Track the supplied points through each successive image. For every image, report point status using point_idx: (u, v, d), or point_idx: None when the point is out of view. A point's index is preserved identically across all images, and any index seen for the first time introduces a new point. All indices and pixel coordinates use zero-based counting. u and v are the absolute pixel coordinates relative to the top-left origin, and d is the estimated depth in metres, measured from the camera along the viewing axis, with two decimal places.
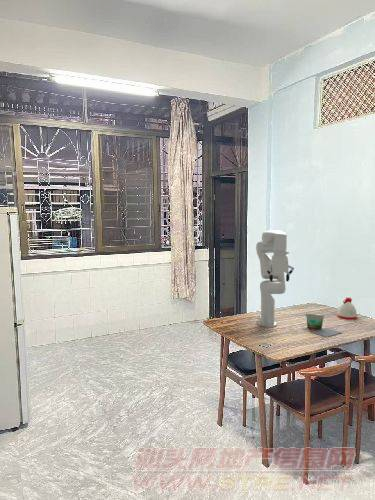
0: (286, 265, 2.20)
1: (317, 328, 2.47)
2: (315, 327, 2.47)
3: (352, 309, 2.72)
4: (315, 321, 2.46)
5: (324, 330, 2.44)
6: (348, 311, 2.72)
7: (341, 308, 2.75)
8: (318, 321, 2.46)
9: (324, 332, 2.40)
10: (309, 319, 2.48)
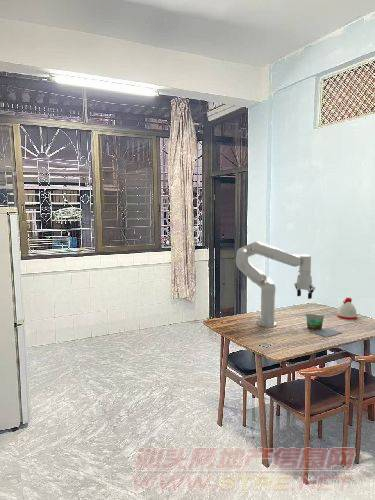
0: None
1: (317, 328, 2.47)
2: (315, 327, 2.47)
3: (352, 309, 2.72)
4: (315, 321, 2.46)
5: (324, 330, 2.44)
6: (348, 311, 2.72)
7: (341, 308, 2.75)
8: (318, 321, 2.46)
9: (324, 332, 2.40)
10: (309, 319, 2.48)
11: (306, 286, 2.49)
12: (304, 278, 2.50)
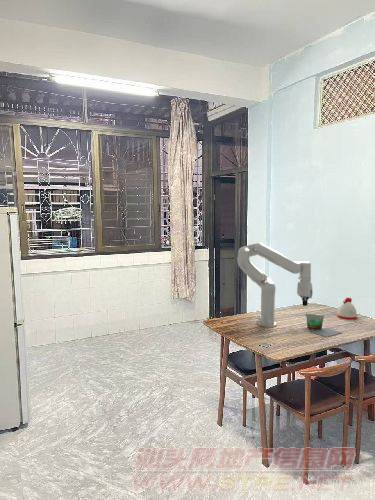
0: None
1: (317, 328, 2.47)
2: (315, 327, 2.47)
3: (352, 309, 2.72)
4: (315, 321, 2.46)
5: (324, 330, 2.44)
6: (348, 311, 2.72)
7: (341, 308, 2.75)
8: (318, 321, 2.46)
9: (324, 332, 2.40)
10: (309, 319, 2.48)
11: (306, 293, 2.49)
12: (304, 285, 2.51)
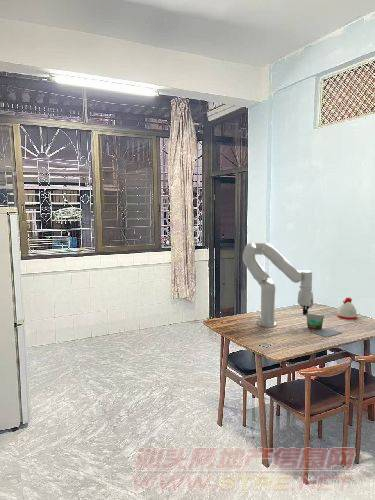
0: None
1: (317, 328, 2.47)
2: (316, 327, 2.47)
3: (352, 309, 2.72)
4: (315, 321, 2.46)
5: (324, 330, 2.44)
6: (348, 311, 2.72)
7: (341, 308, 2.75)
8: (318, 321, 2.46)
9: (324, 332, 2.40)
10: (309, 319, 2.48)
11: (307, 302, 2.49)
12: (305, 295, 2.50)
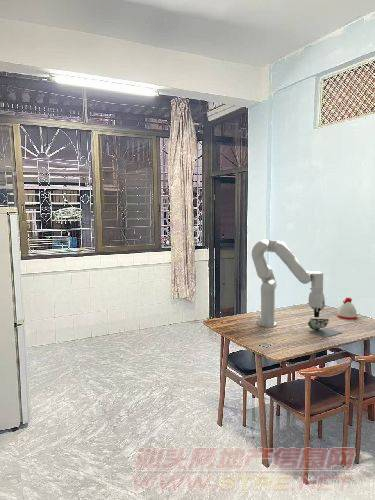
0: None
1: None
2: (318, 329, 2.44)
3: (352, 309, 2.72)
4: (319, 328, 2.41)
5: (324, 330, 2.44)
6: (348, 311, 2.72)
7: (341, 308, 2.75)
8: None
9: (324, 332, 2.40)
10: (314, 326, 2.40)
11: (319, 304, 2.42)
12: (316, 296, 2.43)
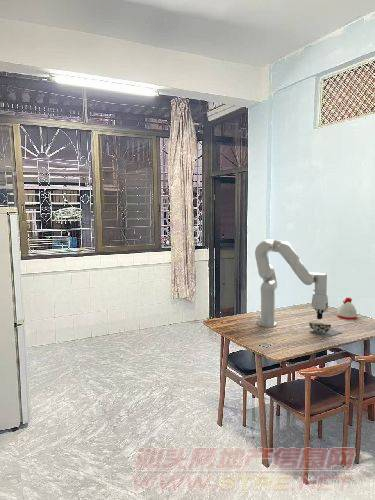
0: None
1: None
2: None
3: (352, 309, 2.72)
4: None
5: None
6: (348, 311, 2.72)
7: (341, 308, 2.75)
8: None
9: None
10: None
11: (322, 306, 2.39)
12: (319, 298, 2.41)
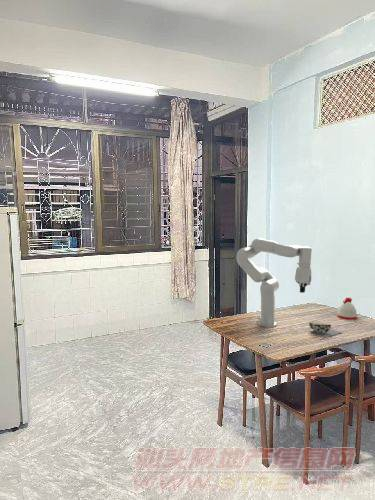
0: None
1: None
2: None
3: (352, 309, 2.72)
4: None
5: None
6: (348, 311, 2.72)
7: (341, 308, 2.75)
8: None
9: None
10: None
11: (305, 279, 2.39)
12: (303, 271, 2.40)
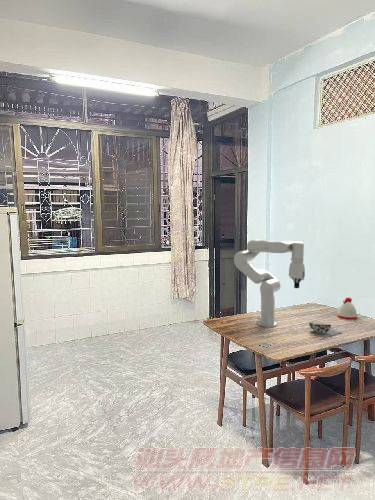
0: None
1: None
2: None
3: (352, 309, 2.72)
4: None
5: None
6: (348, 311, 2.72)
7: (341, 308, 2.75)
8: None
9: None
10: None
11: (298, 274, 2.38)
12: (296, 266, 2.39)
